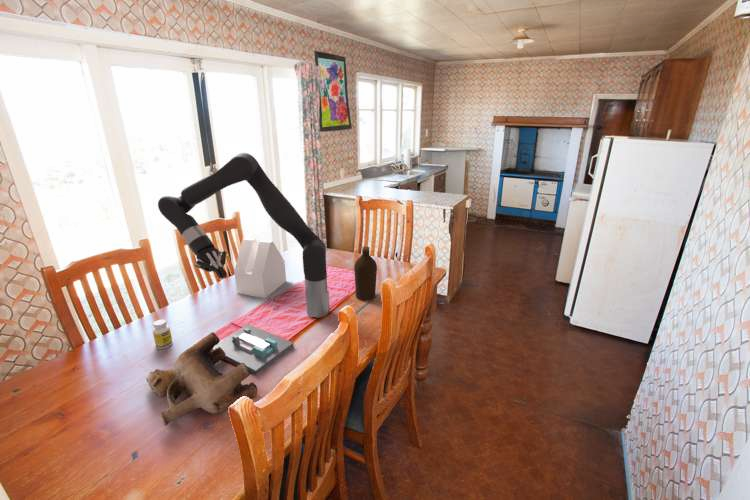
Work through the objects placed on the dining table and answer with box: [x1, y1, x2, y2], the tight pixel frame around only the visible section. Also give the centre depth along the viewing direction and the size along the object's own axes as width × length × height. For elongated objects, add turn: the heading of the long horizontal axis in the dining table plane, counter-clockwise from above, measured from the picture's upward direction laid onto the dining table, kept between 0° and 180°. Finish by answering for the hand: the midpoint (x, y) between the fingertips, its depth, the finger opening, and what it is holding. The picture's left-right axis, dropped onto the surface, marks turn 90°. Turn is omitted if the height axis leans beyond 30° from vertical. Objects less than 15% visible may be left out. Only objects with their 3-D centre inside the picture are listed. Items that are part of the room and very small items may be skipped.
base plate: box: [211, 323, 294, 376], centre depth 130 cm, size 18×24×6 cm
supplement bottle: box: [152, 319, 173, 350], centre depth 131 cm, size 5×5×10 cm
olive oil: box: [353, 246, 378, 301], centre depth 166 cm, size 11×11×25 cm
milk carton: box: [233, 237, 287, 299], centre depth 174 cm, size 19×15×25 cm
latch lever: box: [239, 333, 270, 350], centre depth 129 cm, size 3×1×13 cm
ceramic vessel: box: [145, 332, 258, 427], centre depth 109 cm, size 13×31×25 cm
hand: (224, 277), depth 133 cm, fingers closed
